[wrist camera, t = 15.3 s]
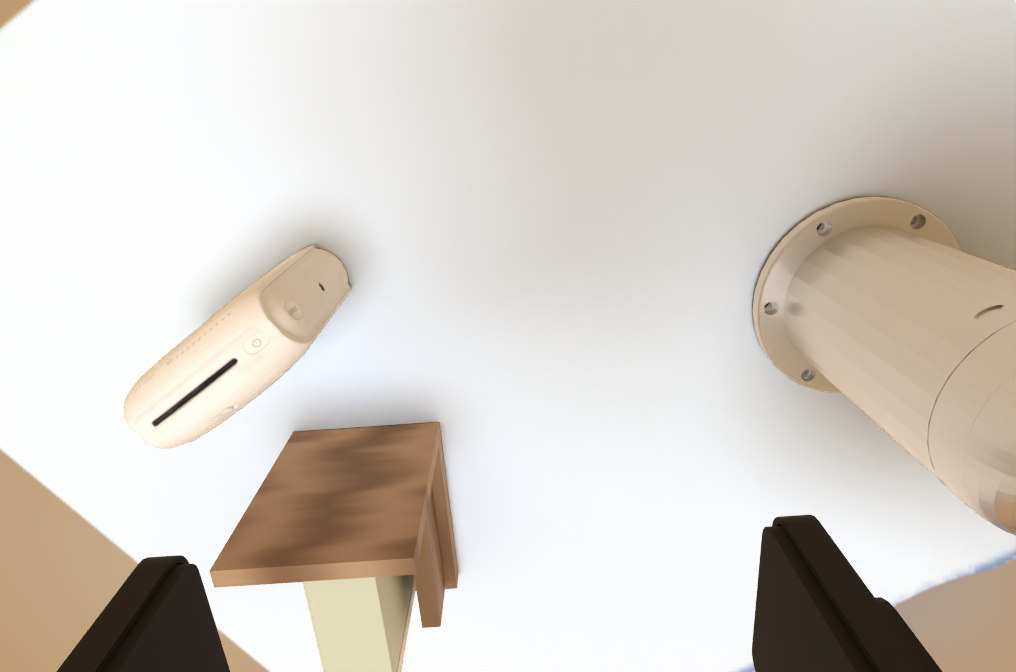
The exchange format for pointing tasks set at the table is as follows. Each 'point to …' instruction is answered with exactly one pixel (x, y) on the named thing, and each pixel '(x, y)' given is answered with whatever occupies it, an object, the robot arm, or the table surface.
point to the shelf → (350, 514)
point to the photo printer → (237, 351)
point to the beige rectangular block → (361, 622)
